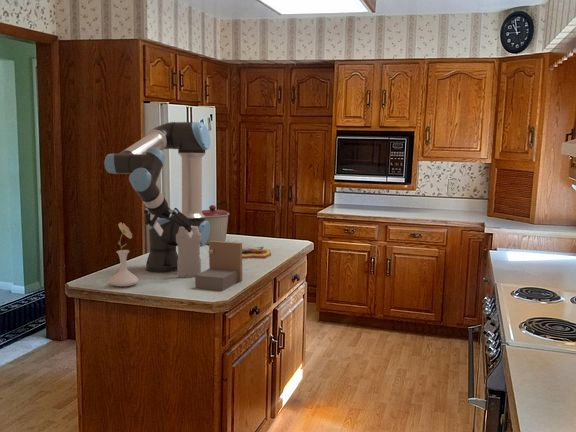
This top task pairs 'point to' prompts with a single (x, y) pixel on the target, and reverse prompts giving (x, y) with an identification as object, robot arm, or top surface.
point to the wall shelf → (222, 266)
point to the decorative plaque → (254, 252)
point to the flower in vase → (123, 263)
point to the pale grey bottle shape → (188, 253)
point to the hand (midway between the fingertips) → (176, 234)
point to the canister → (216, 223)
